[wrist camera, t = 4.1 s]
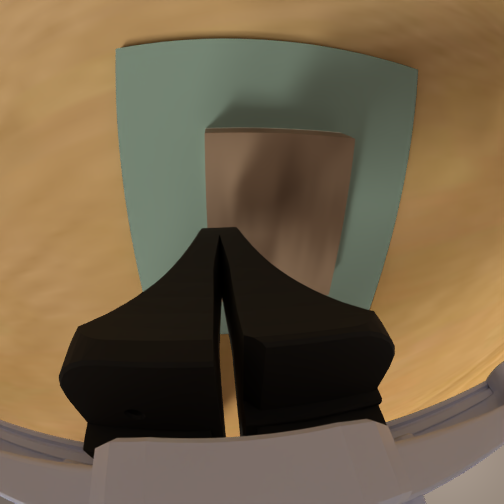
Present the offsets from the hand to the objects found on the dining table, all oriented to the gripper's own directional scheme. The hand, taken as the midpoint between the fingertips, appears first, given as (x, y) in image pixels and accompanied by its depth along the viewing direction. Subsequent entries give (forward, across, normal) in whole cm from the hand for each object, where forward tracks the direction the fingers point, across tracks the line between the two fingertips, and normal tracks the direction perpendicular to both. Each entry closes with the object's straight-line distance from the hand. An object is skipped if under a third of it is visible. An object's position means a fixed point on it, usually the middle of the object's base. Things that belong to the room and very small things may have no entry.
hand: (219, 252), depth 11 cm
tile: (+3, 0, 0) cm, 3 cm away
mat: (+4, -3, 0) cm, 5 cm away
